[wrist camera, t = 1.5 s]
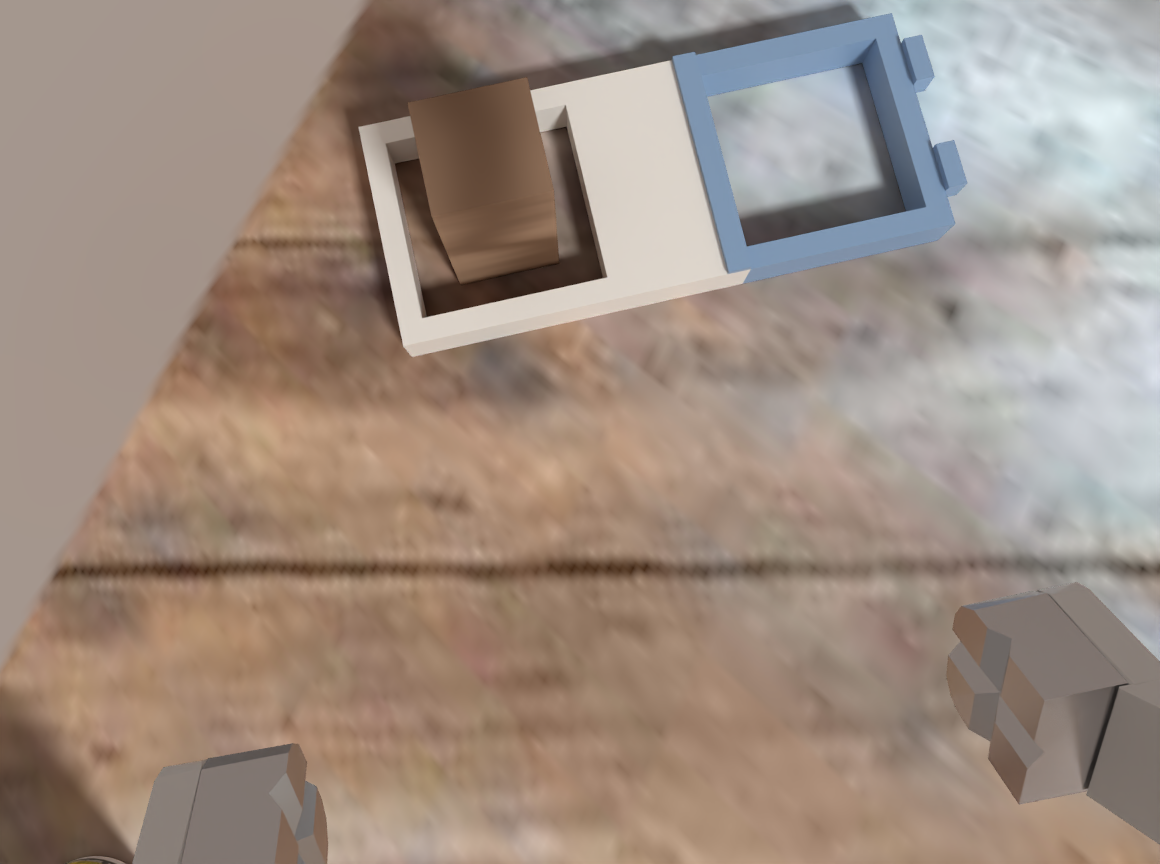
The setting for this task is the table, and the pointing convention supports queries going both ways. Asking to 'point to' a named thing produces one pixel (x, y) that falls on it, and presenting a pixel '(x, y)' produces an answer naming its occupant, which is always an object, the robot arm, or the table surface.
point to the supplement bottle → (96, 860)
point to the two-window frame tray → (681, 182)
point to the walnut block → (487, 179)
